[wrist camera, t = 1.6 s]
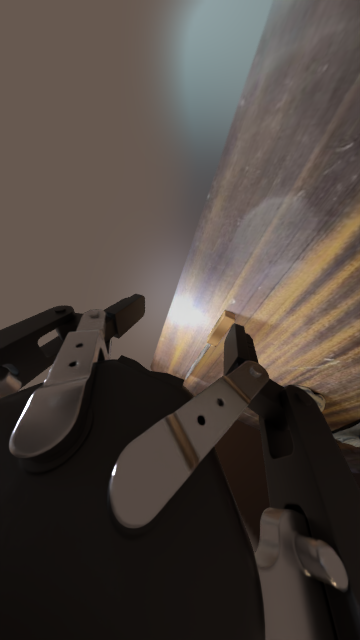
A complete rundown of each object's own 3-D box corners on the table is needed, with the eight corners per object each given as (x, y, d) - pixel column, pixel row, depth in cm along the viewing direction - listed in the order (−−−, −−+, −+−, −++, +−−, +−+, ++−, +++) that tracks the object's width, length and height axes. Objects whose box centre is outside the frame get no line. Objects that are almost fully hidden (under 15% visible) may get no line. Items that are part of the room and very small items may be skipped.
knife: (224, 309, 29) (224, 315, 26) (234, 314, 28) (235, 320, 26) (184, 372, 46) (182, 378, 44) (190, 375, 46) (188, 381, 44)
